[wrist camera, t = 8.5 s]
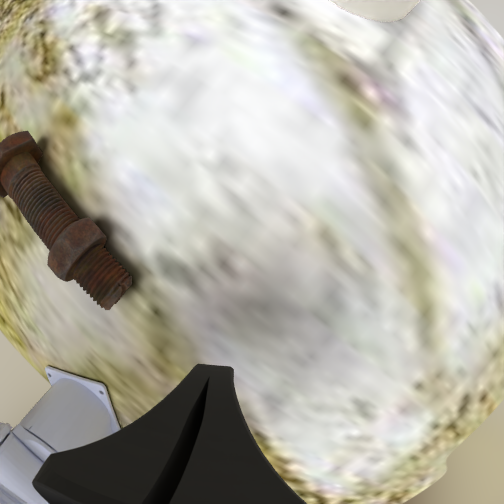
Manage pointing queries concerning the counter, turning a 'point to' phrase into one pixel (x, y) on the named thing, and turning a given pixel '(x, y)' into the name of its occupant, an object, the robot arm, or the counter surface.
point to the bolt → (59, 224)
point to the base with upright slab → (377, 8)
